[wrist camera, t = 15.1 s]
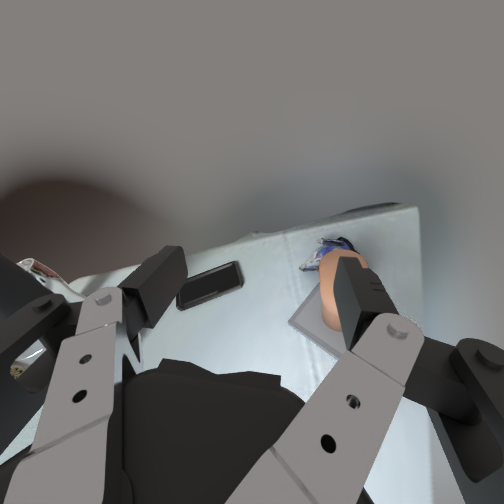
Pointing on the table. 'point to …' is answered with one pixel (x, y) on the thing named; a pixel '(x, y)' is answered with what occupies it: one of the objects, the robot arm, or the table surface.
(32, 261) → the beer glass
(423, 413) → the table surface
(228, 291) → the phone
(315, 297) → the coaster
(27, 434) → the table surface
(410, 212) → the table surface
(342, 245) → the snack package
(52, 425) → the robot arm
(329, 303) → the peach tall cylinder
